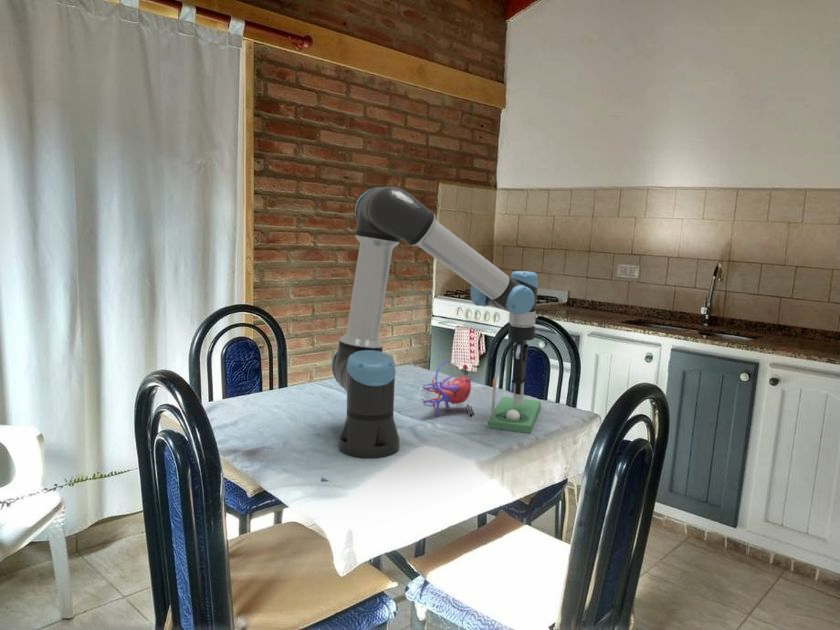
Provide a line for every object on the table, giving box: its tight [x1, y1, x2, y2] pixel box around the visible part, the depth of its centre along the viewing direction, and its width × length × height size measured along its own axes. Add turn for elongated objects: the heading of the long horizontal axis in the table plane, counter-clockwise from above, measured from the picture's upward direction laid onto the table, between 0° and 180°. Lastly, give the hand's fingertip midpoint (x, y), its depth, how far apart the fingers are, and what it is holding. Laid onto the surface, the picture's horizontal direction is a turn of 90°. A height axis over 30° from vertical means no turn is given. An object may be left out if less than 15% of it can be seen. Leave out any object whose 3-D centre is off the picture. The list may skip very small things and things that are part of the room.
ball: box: [506, 410, 520, 420], centre depth 184 cm, size 4×4×4 cm
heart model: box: [420, 360, 475, 418], centre depth 191 cm, size 17×10×20 cm
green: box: [486, 377, 542, 434], centre depth 188 cm, size 27×12×14 cm, turn 164°
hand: (517, 403), depth 190 cm, fingers closed
